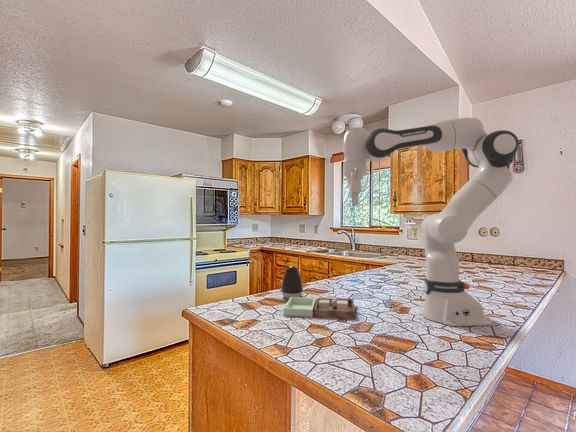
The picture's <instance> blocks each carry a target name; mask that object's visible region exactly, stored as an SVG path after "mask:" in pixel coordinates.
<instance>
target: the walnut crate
mask: <svg viewBox="0 0 576 432" xmlns="http://www.w3.org/2000/svg"><path fill="white" fill-rule="evenodd" d="M333 299H334V298H329V297H328V298H327V297H316V304H315V308H314V314H313V317H314V318H326V319H342V320H343V319H346V320H347V319H348V320H356V311H355V310H356V309H355V303H354V302H355V301H354V299H353V298H336V299H337V300H342V301H348V311H346V310H337V307H336V308H334V307H332V306H331V301H332V300H333ZM319 300H330V310H324V309H319Z"/></svg>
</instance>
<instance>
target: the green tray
mask: <svg viewBox="0 0 576 432" xmlns="http://www.w3.org/2000/svg"><path fill="white" fill-rule="evenodd" d="M316 301H317V297H306V296H305V297H303V296H302V297H301V296H300V297H290V299H288V301H287V302H286V304H285V305H284V307H283V316H284V317H305V318H313V317H314V308H315V304H316Z"/></svg>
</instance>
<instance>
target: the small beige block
mask: <svg viewBox="0 0 576 432" xmlns="http://www.w3.org/2000/svg"><path fill="white" fill-rule="evenodd" d="M337 310H346V311H348V301H342V300H337Z"/></svg>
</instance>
